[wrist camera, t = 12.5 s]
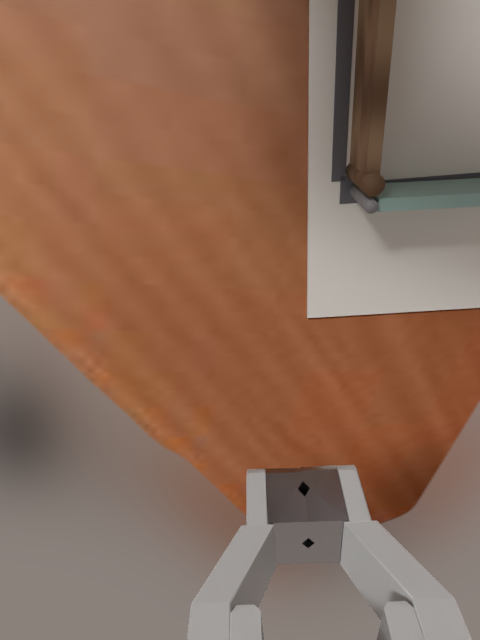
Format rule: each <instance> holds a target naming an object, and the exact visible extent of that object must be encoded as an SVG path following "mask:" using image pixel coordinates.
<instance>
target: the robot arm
mask: <svg viewBox="0 0 480 640" xmlns="http://www.w3.org/2000/svg"><path fill="white" fill-rule="evenodd" d="M308 562H309V563H311V562H313V563H318V562H319V563H320V562H321V563H332V562H333V563H334V562H337V563H340V565H341V566H342V567H343V569H344V570H345V572H346V573H347V574H348V576H349V577H350V578H351V580H352V581H353V583H354V584H355V585H356V587H357V588H358V590H359V591H360V592H361V593H362V595H363V596H364V598H365V599H366V601H367V602H368V603H369V605H370V606H371V607H372V609H373V610H374V612H375V613H376V614H377V616H378V617H379V619H380V620H381V623H380V628H379V632H378V637H377V640H471V637H470V635H469V632H468V630H467V627H466V625H465V622H464V620H463V617H462V615H461V612H460V610H459V607H458V605H457V602H456V600H455V598H454V597H453V596H452V595H451V594H450V593H449V592H448V591H447V590H446V589H445V588H444V587H443V586H442V585H441V584H440V583H439V582H438V581H437V580H436V579H435V578H434V577H433V576H432V575H431V574H430V573H429V572H428V571H427V570H426V569H425V568H424V567H423V566H422V565H421V564H420V563H419V562H418V561H417V560H416V559H415V558H414V557H413V556H412V555H411V554H410V553H409V552H408V551H407V550H406V549H405V548H404V547H403V546H402V545H401V544H400V543H399V542H398V541H397V540H396V539H395V538H394V537H393V536H392V535H391V534H390V533H389V532H388V531H387V530H386V529H385V528H384V527H383V526H382V525H381V524H380V523H379V522H378V521H372V520H371V517H370V513H369V510H368V506H367V503H366V499H365V496H364V493H363V489H362V486H361V482H360V479H359V475H358V472H357V468H356V467H355V466H354V465H342V466H335V465H332V466H315V467H300V468H276V469H266V471H265V469H248V470H247V525H241V527H240V529H239V530H238V531H237V533H236V535H235V536H234V538H233V539H232V541H231V542H230V544H229V545H228V547H227V549H226V550H225V552H224V553H223V555H222V556H221V558H220V560H219V561H218V563H217V564H216V566H215V567H214V569H213V571H212V572H211V574H210V575H209V577H208V578H207V580H206V581H205V583H204V585H203V586H202V588H201V590H200V591H199V593H198V594H197V596H196V597H195V599H194V600H193V602H192V603H191V611H190V619H189V627H188V636H187V640H264V636H263V627H262V618H261V611H260V610H259V609H258V607H259V604H260V602H261V600H262V598H263V596H264V593H265V591H266V589H267V587H268V585H269V582H270V580H271V578H272V576H273V574H274V572H275V569H276V567H277V564H291V563H308Z"/></svg>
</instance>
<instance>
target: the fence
mask: <svg viewBox="0 0 480 640" xmlns="http://www.w3.org/2000/svg"><path fill="white" fill-rule="evenodd" d="M396 4H397V0H359V9H358V26H357V43H356V61H355V78H354V95H353V113H352V130H351V147H350V163H349V164H348V166H347V167H346V176H347V177H348V178H349V179H350V180H351V181H352V182H353V183H354V184H355V185H356V186H357V187H359V188H360V189H361V190H362V191H363V192H364V193H365V194H366V195H368V196H370V197H375V196H378V195H379V194H381V193H382V191H383V190H384V188H385V180H384V178H383V177H382V176H381V175H380V170H381V159H382V149H383V138H384V128H385V118H386V107H387V97H388V87H389V76H390V66H391V56H392V45H393V35H394V25H395V14H396Z"/></svg>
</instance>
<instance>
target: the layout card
mask: <svg viewBox="0 0 480 640" xmlns="http://www.w3.org/2000/svg"><path fill="white" fill-rule="evenodd" d="M358 9H359V0H309V73H308V220H307V318H319V317H335V316H352V315H368V314H384V313H401V312H417V311H434V310H450V309H467V308H480V207H461V208H442V209H423V210H404V211H384V212H377V211H376V212H375V213H372V214H369V213H367V212H366V211H365V210H364V209H363V208H362V207H361V206H360V204H359V203H358V202H357V201H356V200H355V199H354V198H353V197H352V196H351V195H350V194H349V188H350V187H351V186H352V185H354V183H353V182H352V181H351V180H350V179H349V178H348V177H347V176H346V167H347V166H348V164H349V163H350V147H351V130H352V113H353V95H354V78H355V61H356V43H357V26H358ZM380 175H381V176H382V177H383V178H384V180H385V183H397V182H415V181H433V180H451V179H469V178H480V0H397V4H396V14H395V25H394V35H393V45H392V56H391V66H390V76H389V87H388V97H387V107H386V118H385V128H384V138H383V149H382V159H381V170H380Z"/></svg>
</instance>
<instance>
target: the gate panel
mask: <svg viewBox="0 0 480 640" xmlns="http://www.w3.org/2000/svg"><path fill="white" fill-rule="evenodd" d="M349 194H350V195H351V196H352V197H353V198H354V199H355V200H356V201H357V202H358V203H359V204H360V206H361V207H362V208H363V209H364V210H365V211H366V212H367V213H369V214H372V213H375V212H376V211H377V212H384V211H404V210H423V209H442V208H461V207H480V178H469V179H451V180H433V181H415V182H397V183H385V188H384V190H383V191H382V193H381V194H379V195H378V196H375V197H370V196H368V195H366V194H365V193H364V192H363V191H362V190H361V189H360V188H359V187H357V186H356V185H355V184H354V185H352V186H351V187H350V188H349Z"/></svg>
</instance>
